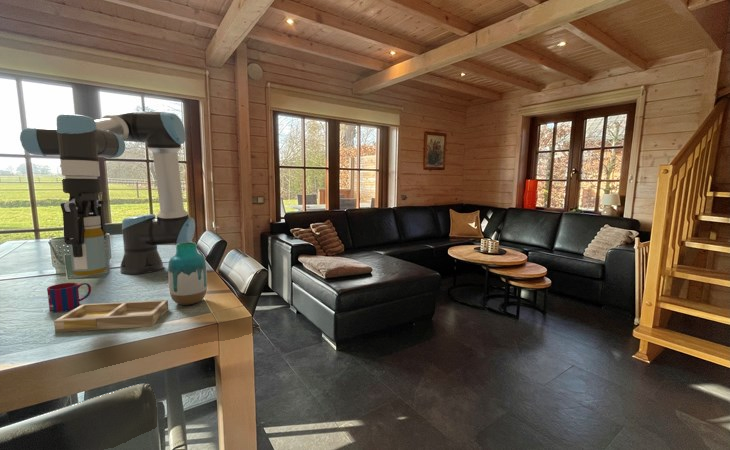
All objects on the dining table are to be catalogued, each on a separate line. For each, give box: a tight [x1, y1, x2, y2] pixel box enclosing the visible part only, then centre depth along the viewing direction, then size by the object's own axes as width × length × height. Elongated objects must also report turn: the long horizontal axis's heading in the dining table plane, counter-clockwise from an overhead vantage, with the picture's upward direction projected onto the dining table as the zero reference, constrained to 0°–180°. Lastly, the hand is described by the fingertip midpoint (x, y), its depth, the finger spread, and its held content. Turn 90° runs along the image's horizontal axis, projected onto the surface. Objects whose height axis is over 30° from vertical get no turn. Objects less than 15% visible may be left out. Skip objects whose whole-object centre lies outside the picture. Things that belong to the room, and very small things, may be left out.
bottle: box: [69, 215, 107, 276], centre depth 87 cm, size 7×7×15 cm
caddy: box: [53, 299, 169, 333], centre depth 91 cm, size 12×22×3 cm, turn 102°
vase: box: [167, 241, 208, 306], centre depth 103 cm, size 11×11×19 cm
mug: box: [46, 282, 92, 313], centre depth 100 cm, size 7×10×7 cm
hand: (89, 265), depth 88 cm, fingers closed on bottle, 6 cm apart
